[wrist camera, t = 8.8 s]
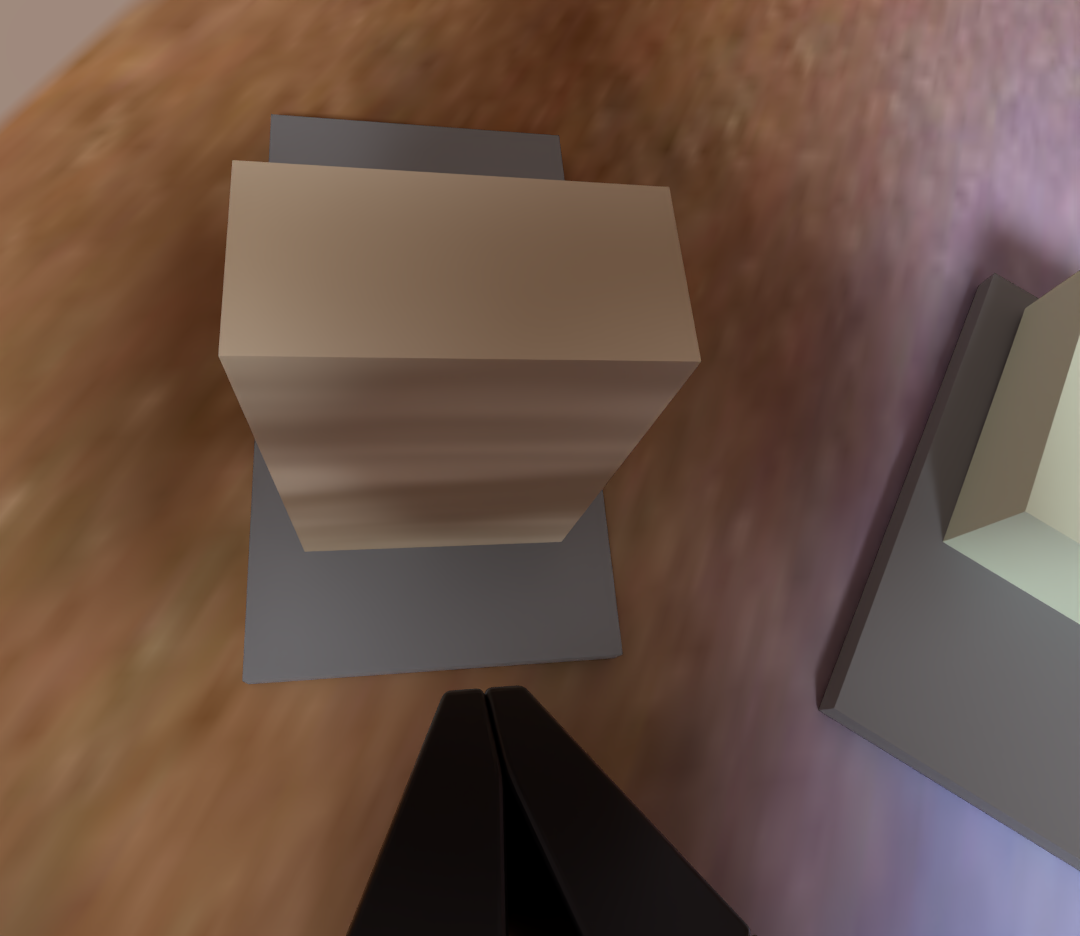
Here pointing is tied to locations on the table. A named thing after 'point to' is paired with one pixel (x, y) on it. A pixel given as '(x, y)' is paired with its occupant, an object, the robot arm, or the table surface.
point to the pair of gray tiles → (588, 586)
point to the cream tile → (448, 346)
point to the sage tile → (1031, 461)
